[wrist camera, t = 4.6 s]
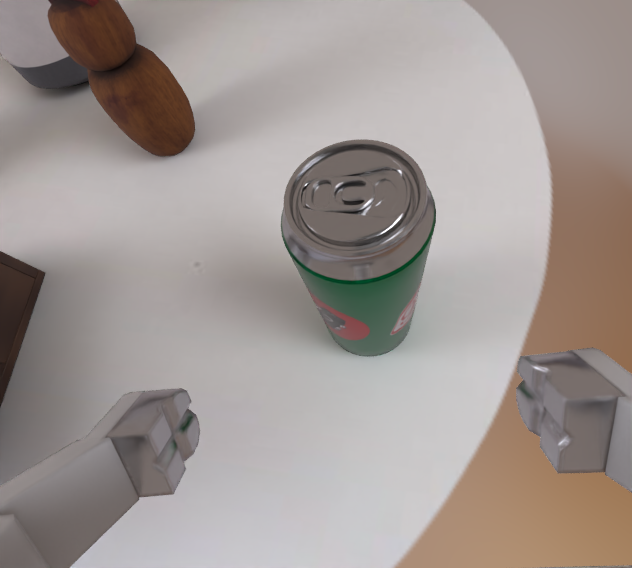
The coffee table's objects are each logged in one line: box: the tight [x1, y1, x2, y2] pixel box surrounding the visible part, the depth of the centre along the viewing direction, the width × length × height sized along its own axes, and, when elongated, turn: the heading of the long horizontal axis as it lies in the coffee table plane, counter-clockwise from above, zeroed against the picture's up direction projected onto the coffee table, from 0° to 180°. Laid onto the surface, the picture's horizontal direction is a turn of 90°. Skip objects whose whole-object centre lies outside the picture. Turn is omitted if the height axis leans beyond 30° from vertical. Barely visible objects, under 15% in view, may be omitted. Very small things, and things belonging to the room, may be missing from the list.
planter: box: [0, 0, 124, 89], centre depth 34 cm, size 13×13×10 cm
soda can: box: [281, 140, 436, 356], centre depth 16 cm, size 5×5×12 cm
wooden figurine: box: [47, 0, 195, 156], centre depth 24 cm, size 7×6×15 cm
